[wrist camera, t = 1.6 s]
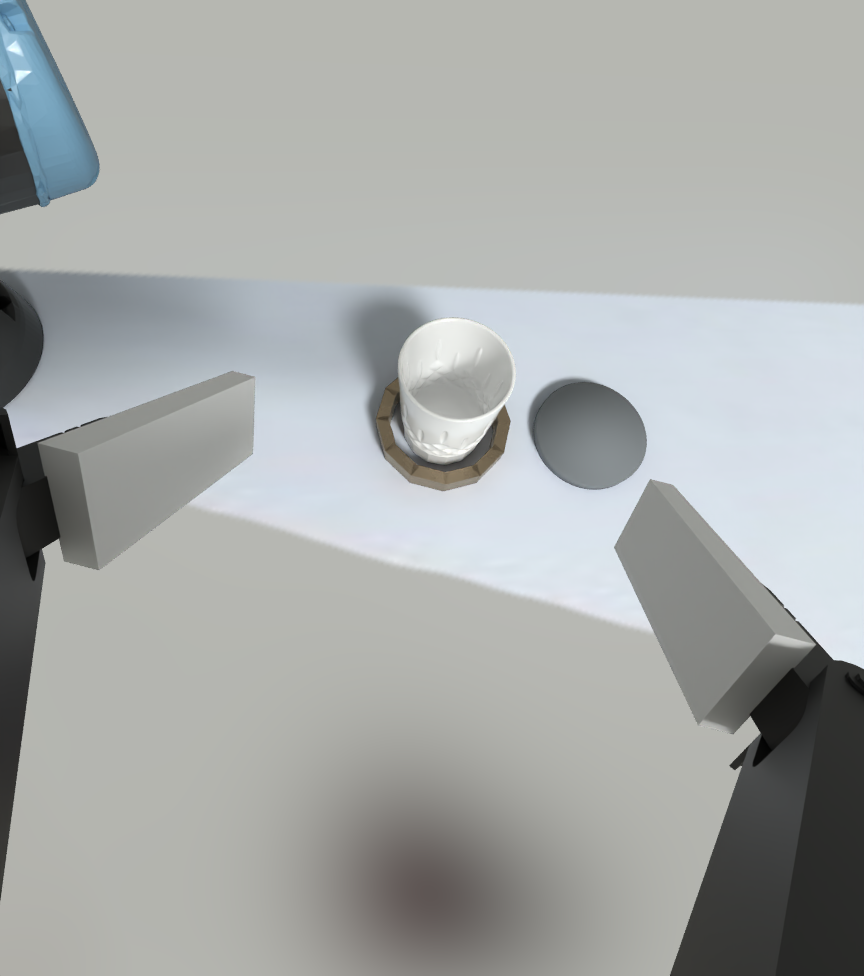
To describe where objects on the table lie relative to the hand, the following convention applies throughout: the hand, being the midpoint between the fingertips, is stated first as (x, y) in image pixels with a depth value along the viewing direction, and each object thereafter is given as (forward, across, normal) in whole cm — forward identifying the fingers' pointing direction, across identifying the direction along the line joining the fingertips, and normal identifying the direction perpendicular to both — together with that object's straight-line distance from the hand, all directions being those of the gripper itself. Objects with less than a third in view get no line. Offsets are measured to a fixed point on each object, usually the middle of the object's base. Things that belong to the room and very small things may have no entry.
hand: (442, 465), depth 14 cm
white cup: (+23, -1, -7) cm, 24 cm away
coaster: (+25, +12, -5) cm, 28 cm away
